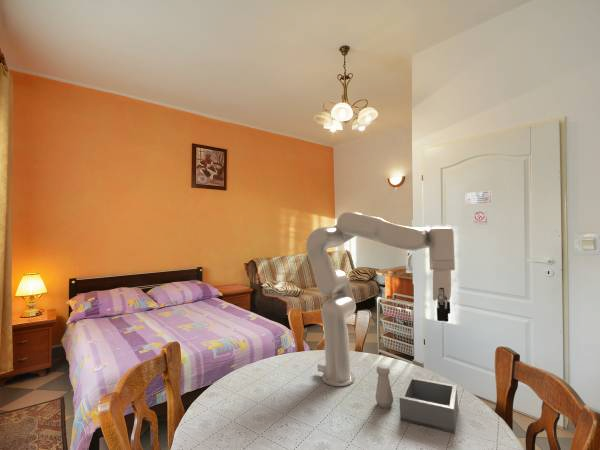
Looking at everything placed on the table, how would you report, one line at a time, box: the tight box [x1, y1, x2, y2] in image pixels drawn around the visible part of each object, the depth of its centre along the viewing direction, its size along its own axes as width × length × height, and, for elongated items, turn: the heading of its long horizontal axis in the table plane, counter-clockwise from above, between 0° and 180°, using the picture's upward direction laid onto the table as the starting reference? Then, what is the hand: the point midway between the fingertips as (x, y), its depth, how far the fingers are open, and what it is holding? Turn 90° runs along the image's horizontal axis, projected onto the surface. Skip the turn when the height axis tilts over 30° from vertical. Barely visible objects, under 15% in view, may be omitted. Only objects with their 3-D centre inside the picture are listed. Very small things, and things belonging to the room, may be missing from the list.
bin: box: [399, 376, 459, 435], centre depth 102 cm, size 15×15×7 cm
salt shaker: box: [375, 363, 394, 409], centre depth 108 cm, size 6×6×13 cm
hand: (444, 316), depth 106 cm, fingers open, 9 cm apart
